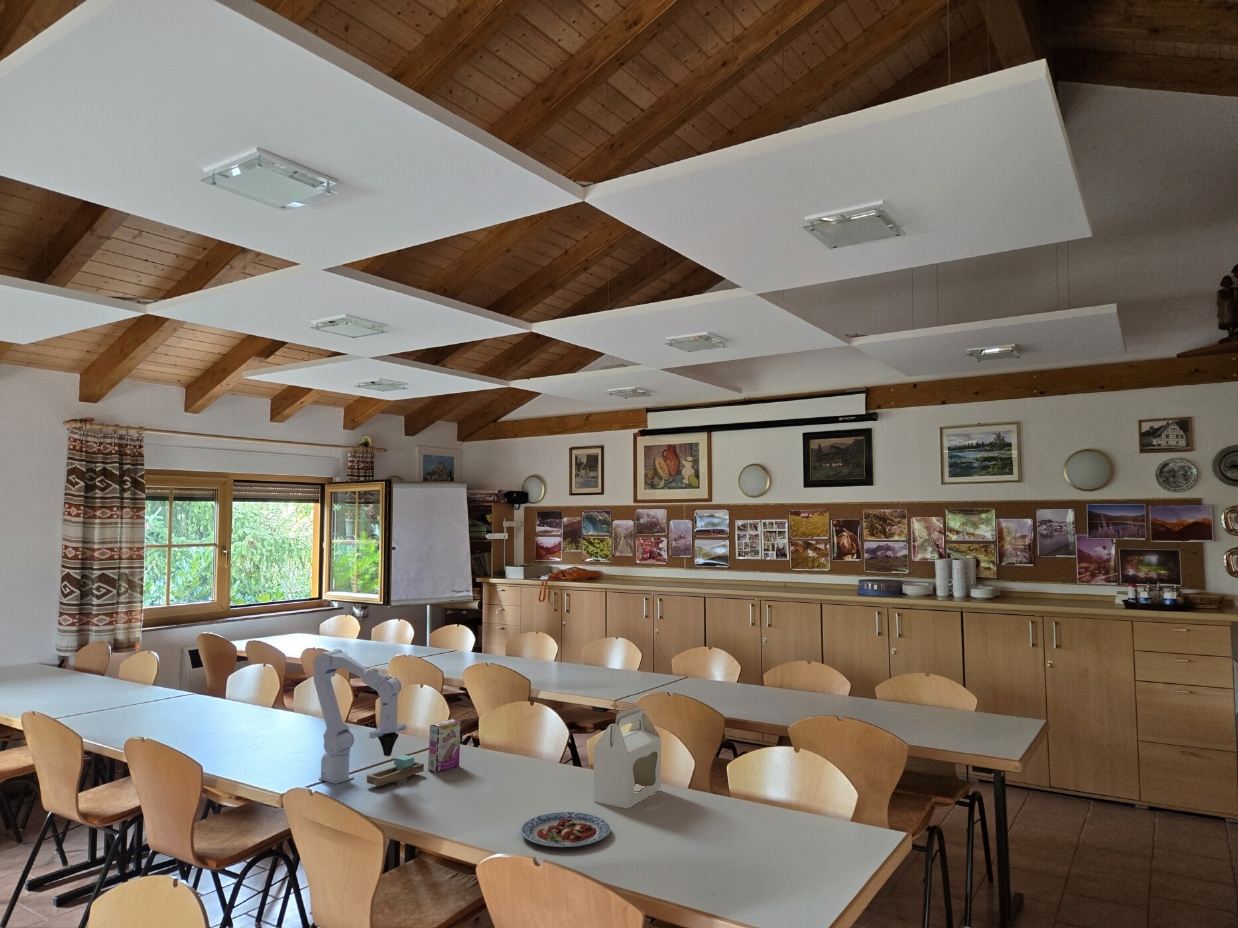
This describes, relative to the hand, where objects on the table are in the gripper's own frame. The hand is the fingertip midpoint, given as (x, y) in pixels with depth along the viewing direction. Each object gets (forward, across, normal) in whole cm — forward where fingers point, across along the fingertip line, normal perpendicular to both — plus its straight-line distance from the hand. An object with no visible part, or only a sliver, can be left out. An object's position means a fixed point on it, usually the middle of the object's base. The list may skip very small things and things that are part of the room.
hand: (387, 755), depth 275 cm
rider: (+7, +8, 0) cm, 10 cm away
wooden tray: (+10, +4, 0) cm, 10 cm away
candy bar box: (+10, +24, -3) cm, 26 cm away
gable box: (+10, +37, -74) cm, 83 cm away
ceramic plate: (+10, -1, -77) cm, 78 cm away
